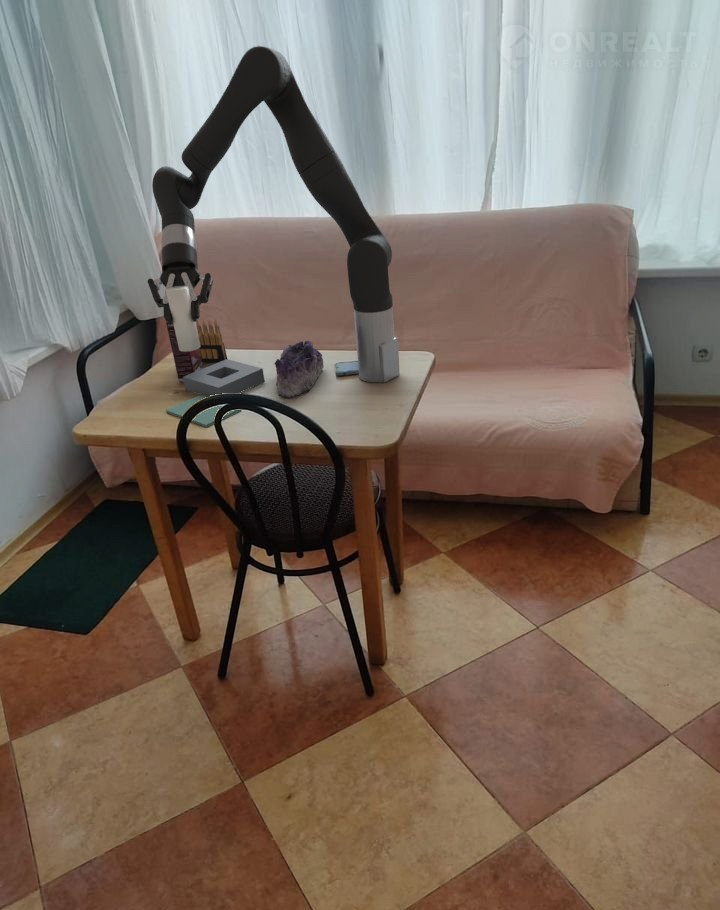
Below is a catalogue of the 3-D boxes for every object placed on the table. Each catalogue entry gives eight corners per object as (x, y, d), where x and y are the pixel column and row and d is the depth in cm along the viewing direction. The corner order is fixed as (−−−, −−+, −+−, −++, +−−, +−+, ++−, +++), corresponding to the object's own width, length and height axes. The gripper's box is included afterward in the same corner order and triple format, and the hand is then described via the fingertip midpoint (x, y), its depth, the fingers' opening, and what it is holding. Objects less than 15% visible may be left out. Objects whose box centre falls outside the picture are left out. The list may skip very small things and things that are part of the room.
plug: (204, 344, 139) (192, 285, 133) (194, 351, 136) (181, 291, 129) (185, 344, 141) (172, 285, 134) (175, 351, 137) (161, 291, 130)
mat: (241, 410, 144) (240, 408, 144) (206, 427, 138) (205, 424, 137) (201, 397, 153) (200, 394, 153) (166, 412, 146) (165, 410, 146)
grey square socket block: (264, 381, 159) (262, 368, 157) (221, 401, 150) (218, 387, 148) (229, 371, 167) (226, 359, 165) (185, 389, 158) (182, 376, 156)
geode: (318, 399, 147) (307, 359, 142) (271, 406, 149) (259, 367, 144) (331, 364, 164) (321, 328, 159) (289, 371, 167) (278, 335, 162)
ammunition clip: (190, 362, 176) (181, 320, 170) (193, 360, 178) (184, 318, 172) (225, 363, 173) (217, 320, 168) (228, 360, 175) (220, 318, 169)
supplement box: (196, 381, 163) (183, 321, 155) (178, 382, 163) (164, 322, 155) (204, 369, 170) (192, 311, 163) (187, 370, 171) (174, 312, 163)
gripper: (140, 244, 134) (142, 315, 129) (208, 237, 135) (212, 308, 130) (151, 264, 141) (153, 332, 136) (215, 258, 142) (219, 326, 137)
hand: (182, 320), depth 133 cm, fingers closed on plug, 4 cm apart
